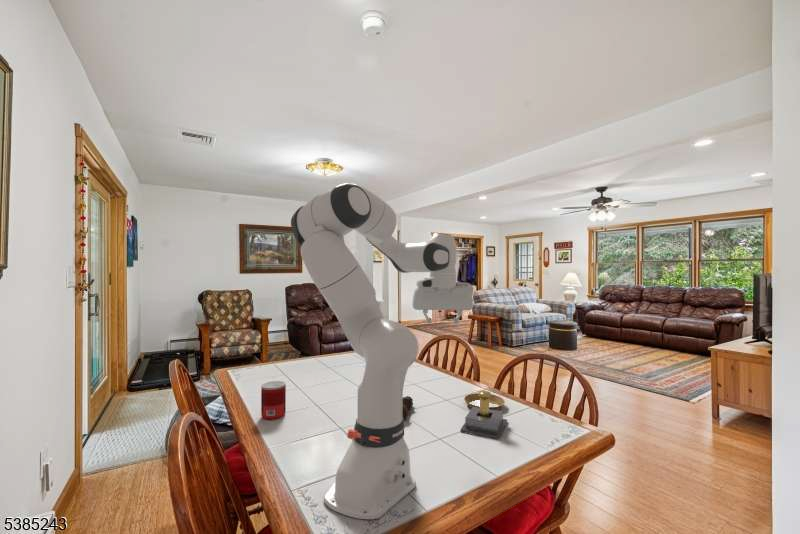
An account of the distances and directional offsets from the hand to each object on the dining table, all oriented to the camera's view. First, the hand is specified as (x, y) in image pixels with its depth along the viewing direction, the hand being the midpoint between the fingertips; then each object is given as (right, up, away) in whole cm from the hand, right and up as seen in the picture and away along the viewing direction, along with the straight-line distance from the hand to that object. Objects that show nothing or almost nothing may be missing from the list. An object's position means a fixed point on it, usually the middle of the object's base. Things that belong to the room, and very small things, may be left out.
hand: (442, 323), depth 123 cm
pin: (+13, -33, -4) cm, 36 cm away
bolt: (-12, -33, +7) cm, 36 cm away
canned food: (-58, -33, +4) cm, 67 cm away
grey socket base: (+13, -33, -4) cm, 36 cm away
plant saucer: (+17, -34, +14) cm, 40 cm away
